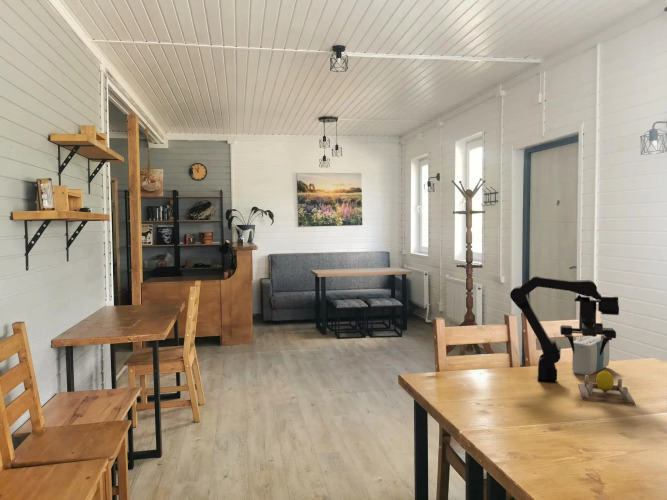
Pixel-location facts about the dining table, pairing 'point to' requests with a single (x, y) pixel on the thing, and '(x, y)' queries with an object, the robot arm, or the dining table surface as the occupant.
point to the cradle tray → (605, 393)
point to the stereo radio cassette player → (589, 355)
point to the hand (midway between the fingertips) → (586, 353)
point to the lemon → (605, 381)
